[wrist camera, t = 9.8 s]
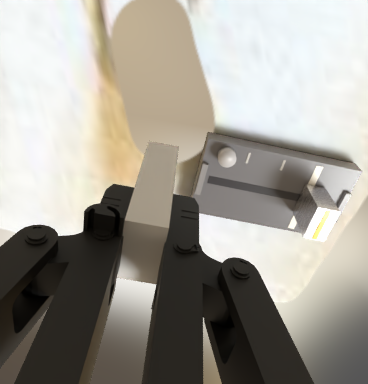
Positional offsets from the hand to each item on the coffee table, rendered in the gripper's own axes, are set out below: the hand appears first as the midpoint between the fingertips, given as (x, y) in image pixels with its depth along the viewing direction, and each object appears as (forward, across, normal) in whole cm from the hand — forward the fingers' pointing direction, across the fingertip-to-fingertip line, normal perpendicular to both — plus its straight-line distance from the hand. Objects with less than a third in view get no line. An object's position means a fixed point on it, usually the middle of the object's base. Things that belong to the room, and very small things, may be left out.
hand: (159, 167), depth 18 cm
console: (+30, +16, -16) cm, 38 cm away
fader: (+27, +22, -16) cm, 38 cm away
